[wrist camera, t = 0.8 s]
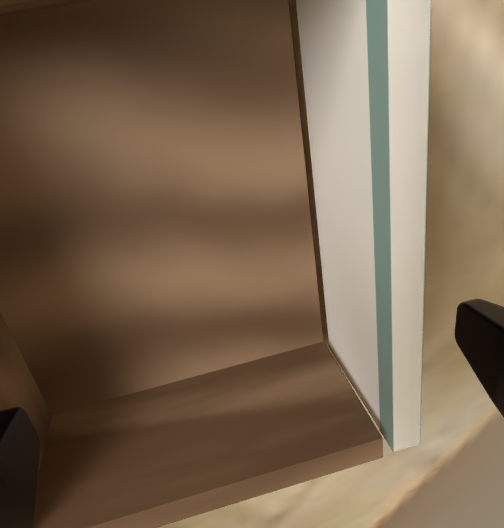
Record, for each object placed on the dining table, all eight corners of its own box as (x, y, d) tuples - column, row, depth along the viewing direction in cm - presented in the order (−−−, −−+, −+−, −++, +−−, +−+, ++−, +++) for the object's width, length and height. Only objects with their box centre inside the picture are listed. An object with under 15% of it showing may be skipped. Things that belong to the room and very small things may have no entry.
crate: (319, 347, 27) (382, 457, 20) (40, 423, 25) (0, 575, 18) (274, -65, 17) (364, -138, 10) (-179, 6, 15) (-449, -26, 8)
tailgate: (349, 342, 26) (420, 443, 19) (328, 347, 26) (393, 452, 19) (321, -62, 17) (434, -127, 10) (289, -57, 17) (384, -120, 10)
